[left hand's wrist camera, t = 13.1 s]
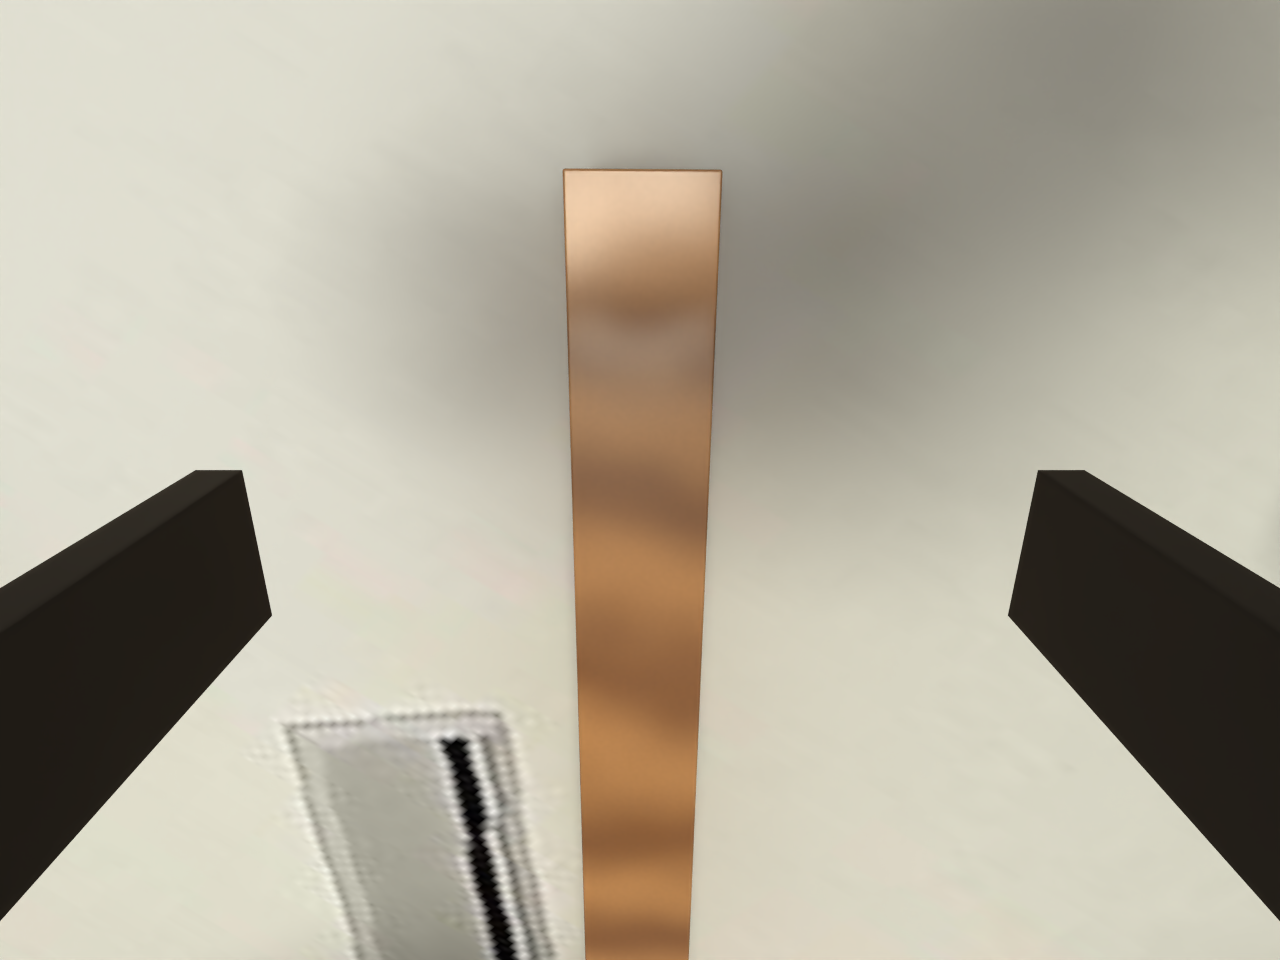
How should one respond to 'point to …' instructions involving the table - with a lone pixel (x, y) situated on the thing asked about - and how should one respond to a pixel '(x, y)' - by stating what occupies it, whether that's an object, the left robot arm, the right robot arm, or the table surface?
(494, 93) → the table surface
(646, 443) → the bar
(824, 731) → the table surface
